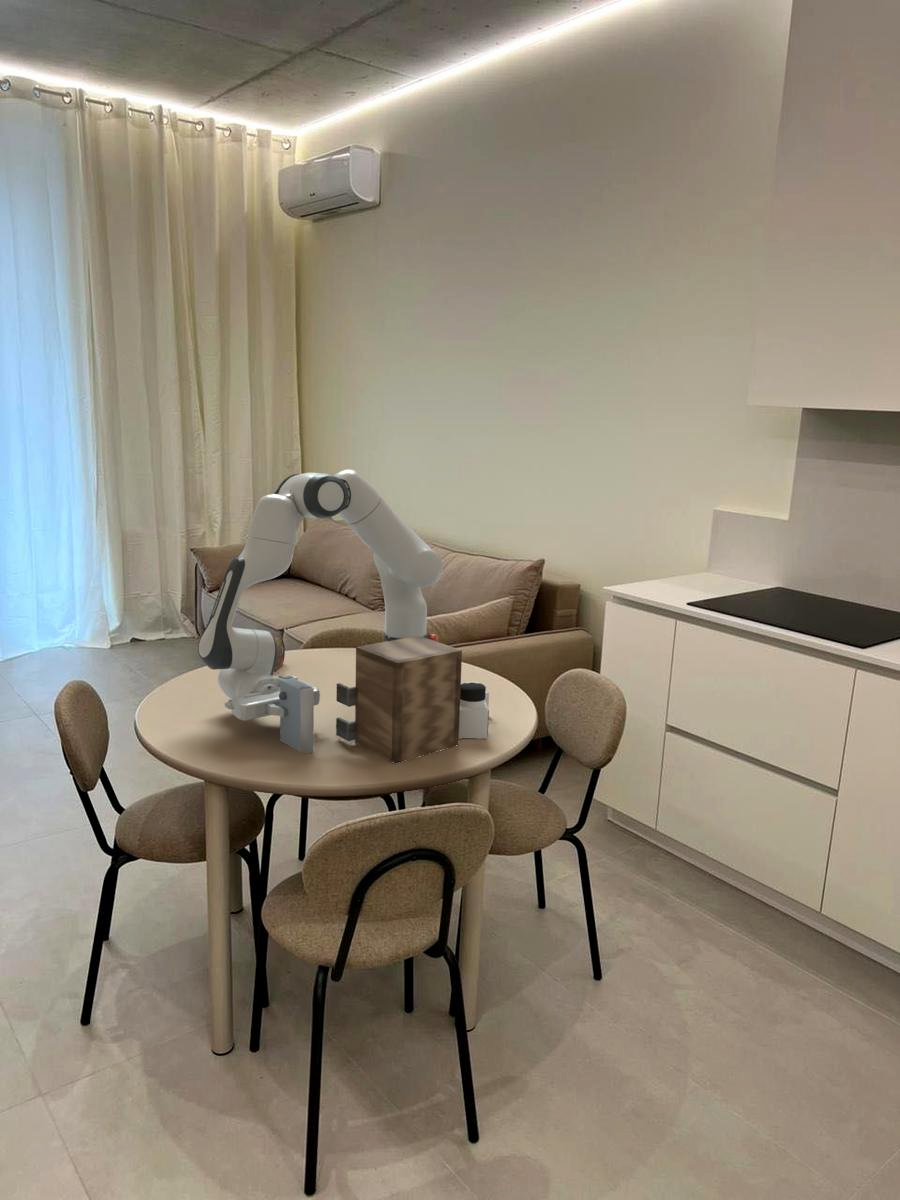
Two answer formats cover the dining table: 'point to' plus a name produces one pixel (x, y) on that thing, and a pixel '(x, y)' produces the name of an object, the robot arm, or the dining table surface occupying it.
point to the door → (297, 715)
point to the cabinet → (404, 698)
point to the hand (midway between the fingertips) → (294, 711)
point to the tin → (280, 653)
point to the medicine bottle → (473, 711)
